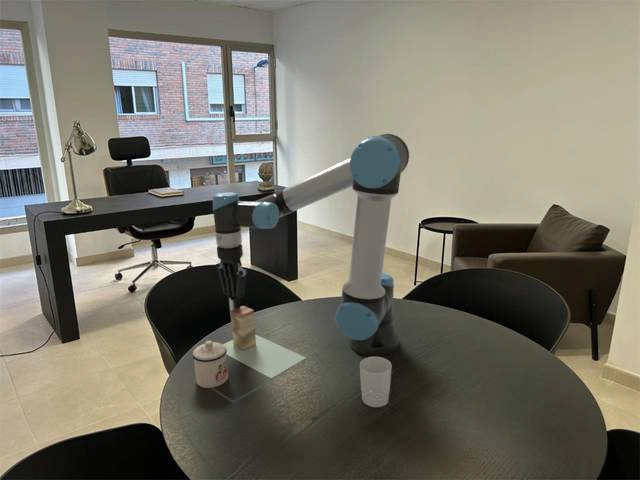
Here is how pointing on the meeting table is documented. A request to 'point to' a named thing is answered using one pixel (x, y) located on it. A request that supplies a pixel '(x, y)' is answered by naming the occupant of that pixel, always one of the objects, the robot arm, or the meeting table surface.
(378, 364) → the white cup
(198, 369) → the teacup with lid
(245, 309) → the oak block
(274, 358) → the rubber mat
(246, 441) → the meeting table surface
